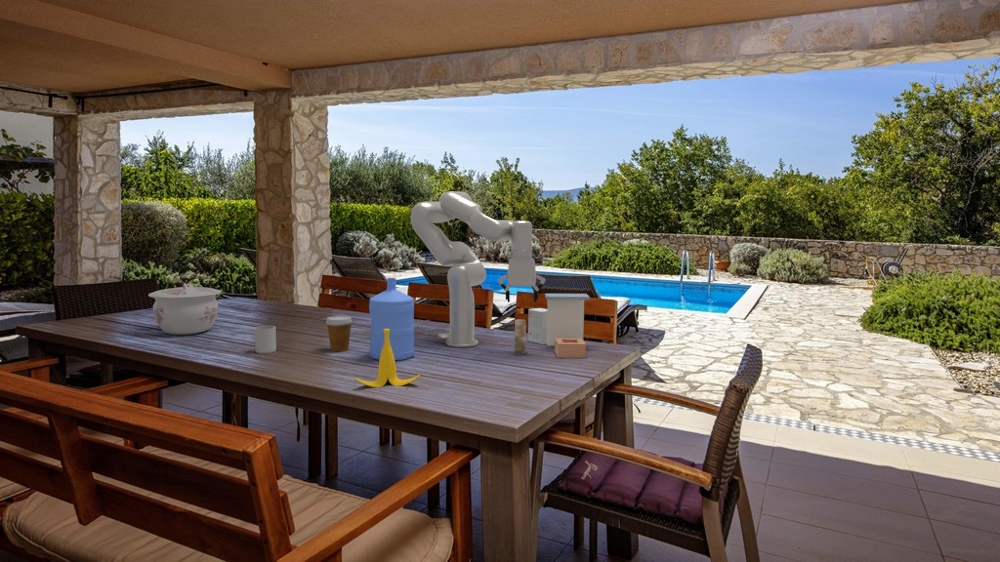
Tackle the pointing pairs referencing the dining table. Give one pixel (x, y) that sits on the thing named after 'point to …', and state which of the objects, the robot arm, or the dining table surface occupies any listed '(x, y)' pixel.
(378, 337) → the water jug
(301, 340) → the dining table surface
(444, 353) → the dining table surface
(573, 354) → the socket
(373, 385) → the banana peel
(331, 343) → the disposable coffee cup
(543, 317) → the small box
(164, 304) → the chamber pot
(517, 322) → the peg
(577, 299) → the lidded rectangular box
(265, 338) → the cup
